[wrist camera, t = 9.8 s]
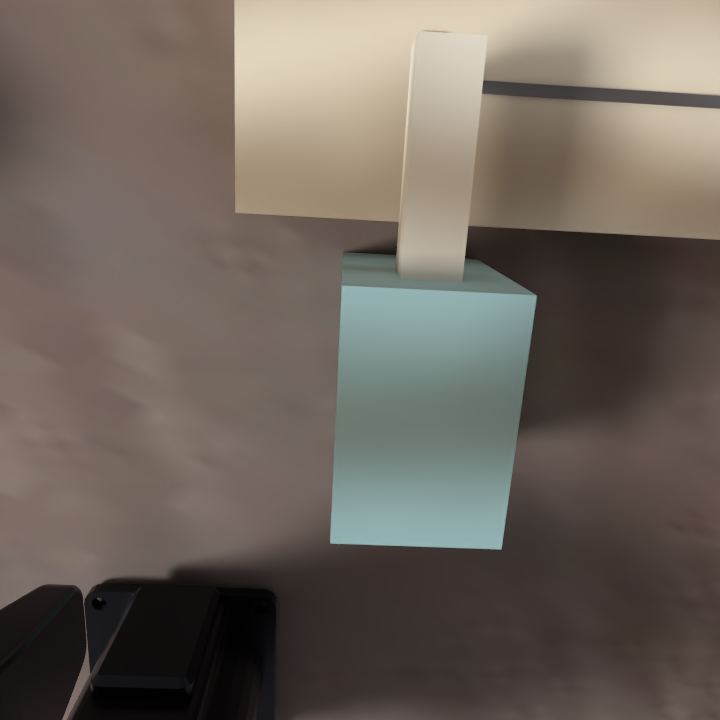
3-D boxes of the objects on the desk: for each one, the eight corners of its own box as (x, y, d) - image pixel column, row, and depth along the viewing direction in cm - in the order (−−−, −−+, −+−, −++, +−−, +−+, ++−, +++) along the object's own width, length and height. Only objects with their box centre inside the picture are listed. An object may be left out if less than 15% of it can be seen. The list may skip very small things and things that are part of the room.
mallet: (456, 442, 20) (501, 549, 14) (334, 437, 20) (330, 543, 14) (496, 77, 17) (575, 23, 11) (351, 68, 17) (354, 8, 11)
